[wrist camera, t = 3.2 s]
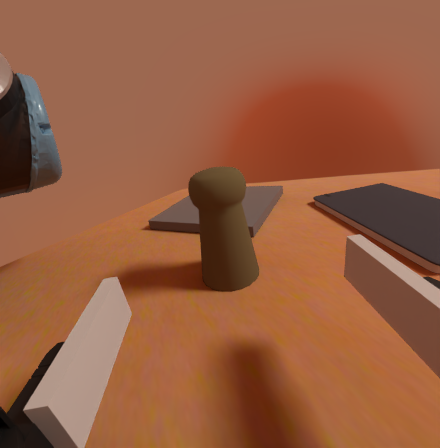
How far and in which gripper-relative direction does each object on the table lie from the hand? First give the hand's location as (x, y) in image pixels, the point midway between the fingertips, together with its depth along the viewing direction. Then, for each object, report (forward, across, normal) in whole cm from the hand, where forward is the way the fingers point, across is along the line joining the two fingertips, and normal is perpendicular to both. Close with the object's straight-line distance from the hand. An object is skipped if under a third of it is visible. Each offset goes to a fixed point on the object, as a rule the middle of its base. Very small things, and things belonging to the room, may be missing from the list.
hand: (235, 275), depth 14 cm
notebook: (+15, +23, -7) cm, 28 cm away
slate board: (+29, +1, -6) cm, 30 cm away
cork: (+10, 0, -7) cm, 12 cm away
